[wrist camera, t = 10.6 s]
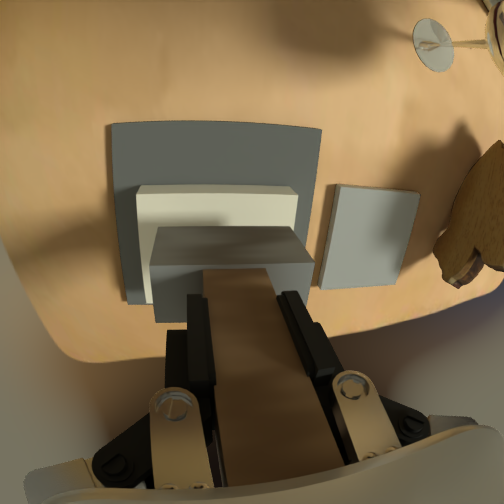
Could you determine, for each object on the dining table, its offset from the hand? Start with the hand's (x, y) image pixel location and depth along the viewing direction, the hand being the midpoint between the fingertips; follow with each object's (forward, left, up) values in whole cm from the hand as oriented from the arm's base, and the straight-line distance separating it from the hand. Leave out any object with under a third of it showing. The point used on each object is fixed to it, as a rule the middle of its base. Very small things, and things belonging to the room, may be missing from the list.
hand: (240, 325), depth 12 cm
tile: (0, -2, -10) cm, 11 cm away
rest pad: (-13, +2, -12) cm, 18 cm away
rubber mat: (0, +1, -12) cm, 12 cm away
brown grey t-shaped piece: (0, 0, -6) cm, 6 cm away
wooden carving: (-24, -3, -12) cm, 27 cm away
